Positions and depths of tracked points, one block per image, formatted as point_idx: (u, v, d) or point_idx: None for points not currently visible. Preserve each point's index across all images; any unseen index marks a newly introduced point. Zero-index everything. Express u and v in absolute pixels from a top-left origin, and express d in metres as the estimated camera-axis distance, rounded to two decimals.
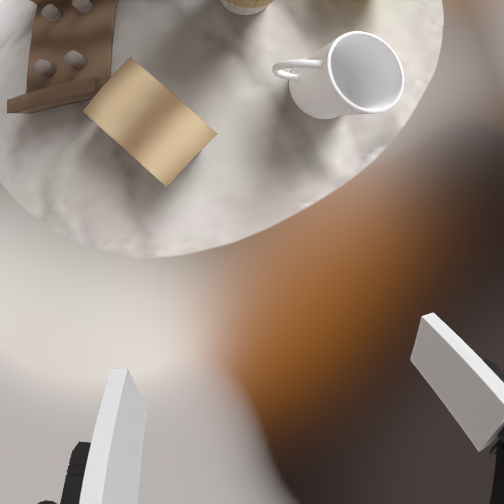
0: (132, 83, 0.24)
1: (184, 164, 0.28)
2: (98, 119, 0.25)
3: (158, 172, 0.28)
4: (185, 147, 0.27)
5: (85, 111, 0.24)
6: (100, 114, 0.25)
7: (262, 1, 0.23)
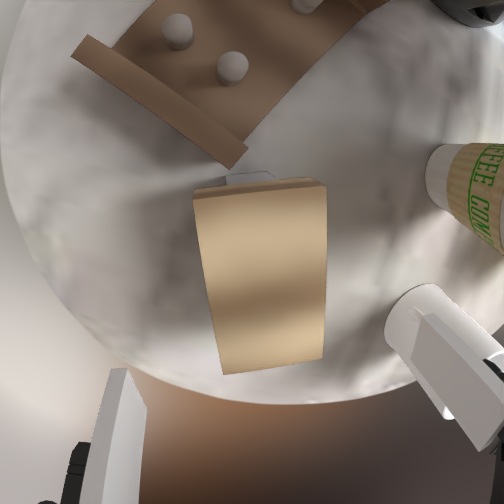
0: (295, 229, 0.16)
1: (262, 367, 0.20)
2: (206, 236, 0.16)
3: (227, 358, 0.19)
4: (280, 353, 0.20)
5: (196, 205, 0.15)
6: (214, 232, 0.16)
7: (474, 232, 0.20)
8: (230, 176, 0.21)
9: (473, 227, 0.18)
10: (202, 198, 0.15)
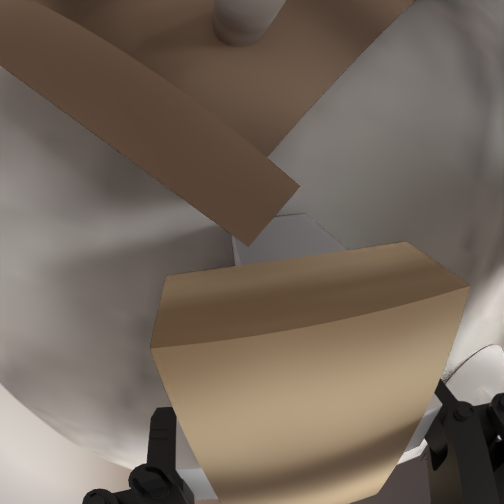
0: (394, 378, 0.06)
1: None
2: (197, 414, 0.06)
3: None
4: None
5: (162, 359, 0.05)
6: (215, 407, 0.06)
7: None
8: None
9: None
10: (177, 342, 0.05)
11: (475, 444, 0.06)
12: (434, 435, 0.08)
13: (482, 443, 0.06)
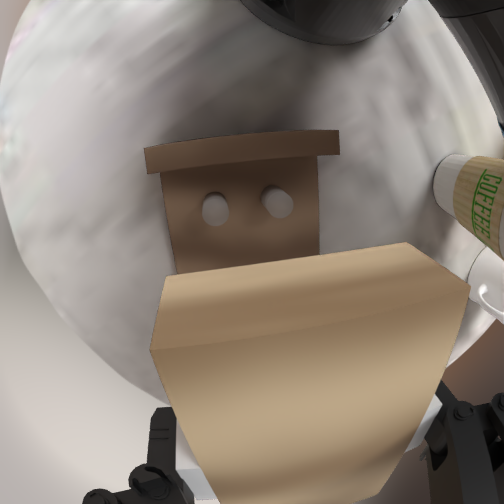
0: (395, 379, 0.06)
1: None
2: (197, 415, 0.06)
3: None
4: None
5: (162, 360, 0.05)
6: (215, 409, 0.06)
7: None
8: None
9: None
10: (177, 343, 0.05)
11: (475, 444, 0.06)
12: (434, 435, 0.08)
13: (482, 443, 0.06)
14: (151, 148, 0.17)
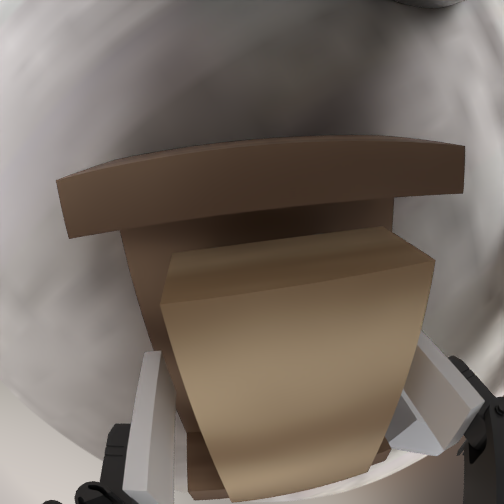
0: (370, 343, 0.08)
1: (287, 492, 0.11)
2: (197, 369, 0.07)
3: (238, 491, 0.10)
4: (313, 479, 0.11)
5: (170, 314, 0.07)
6: (213, 362, 0.07)
7: None
8: None
9: None
10: (182, 299, 0.07)
11: None
12: (474, 429, 0.07)
13: None
14: (71, 179, 0.07)
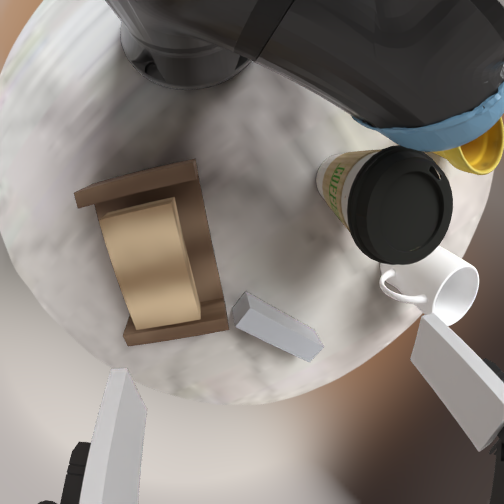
0: (157, 231, 0.26)
1: (160, 324, 0.30)
2: (109, 240, 0.26)
3: (135, 317, 0.29)
4: (168, 314, 0.30)
5: (101, 223, 0.25)
6: (112, 237, 0.26)
7: None
8: (233, 309, 0.38)
9: None
10: (104, 219, 0.25)
11: None
12: None
13: None
14: (77, 192, 0.25)
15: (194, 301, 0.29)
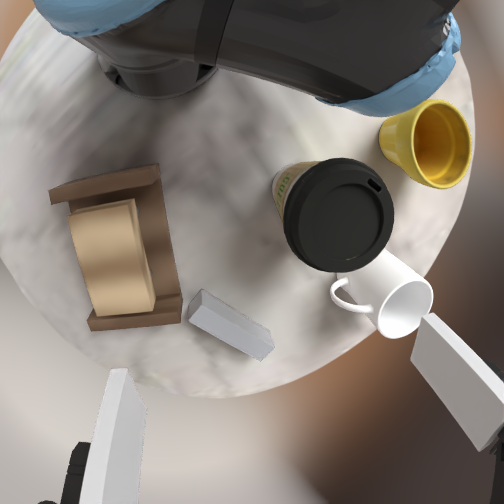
0: (115, 229, 0.28)
1: (117, 313, 0.32)
2: (75, 234, 0.28)
3: (96, 304, 0.31)
4: (124, 304, 0.31)
5: (69, 218, 0.27)
6: (78, 232, 0.28)
7: None
8: (190, 305, 0.40)
9: None
10: (71, 215, 0.27)
11: None
12: None
13: None
14: (51, 190, 0.27)
15: (147, 294, 0.31)
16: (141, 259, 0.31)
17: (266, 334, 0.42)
